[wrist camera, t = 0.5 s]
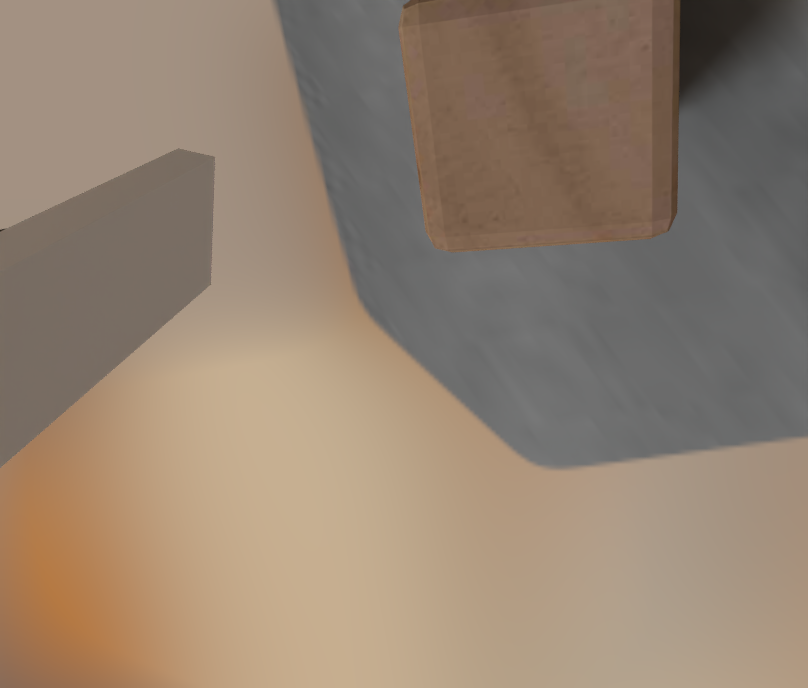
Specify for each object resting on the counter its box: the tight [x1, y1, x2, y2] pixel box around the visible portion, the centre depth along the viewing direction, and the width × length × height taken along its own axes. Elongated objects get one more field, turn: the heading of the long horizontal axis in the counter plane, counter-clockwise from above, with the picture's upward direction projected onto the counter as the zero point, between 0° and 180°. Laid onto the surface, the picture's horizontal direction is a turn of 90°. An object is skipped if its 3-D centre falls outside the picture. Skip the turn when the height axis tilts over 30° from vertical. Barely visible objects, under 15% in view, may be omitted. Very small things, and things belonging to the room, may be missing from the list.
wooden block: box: [398, 0, 680, 252], centre depth 36 cm, size 10×10×20 cm
